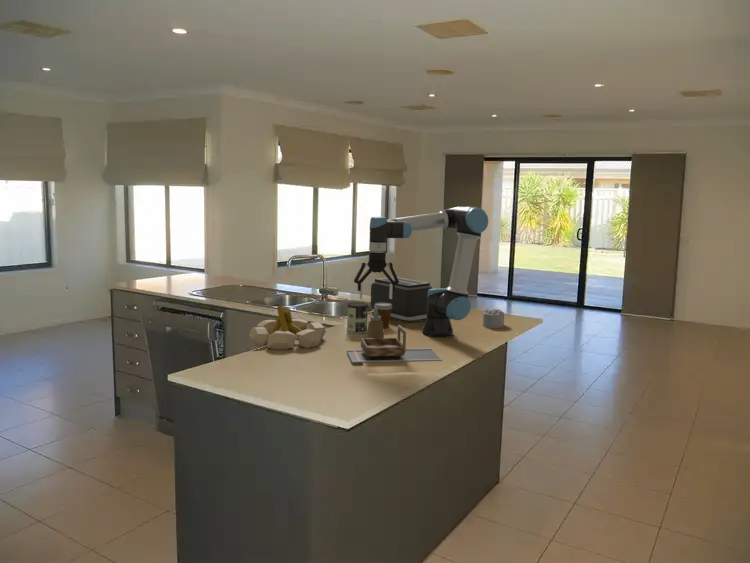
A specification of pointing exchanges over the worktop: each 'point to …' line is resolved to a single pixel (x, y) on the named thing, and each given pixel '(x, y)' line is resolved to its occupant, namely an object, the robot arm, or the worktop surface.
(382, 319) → the disposable coffee cup
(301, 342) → the campfire
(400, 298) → the toaster
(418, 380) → the worktop surface
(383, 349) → the cart
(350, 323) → the coffee can
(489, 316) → the lumpy-topped squat cylinder
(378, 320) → the squeeze bottle
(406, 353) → the track
